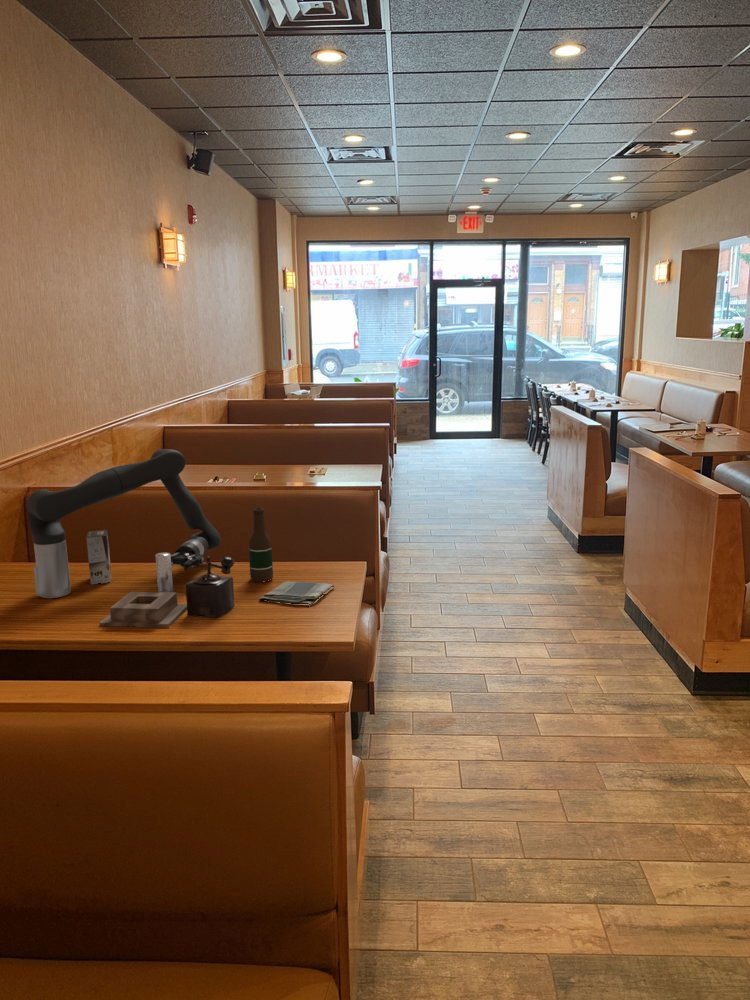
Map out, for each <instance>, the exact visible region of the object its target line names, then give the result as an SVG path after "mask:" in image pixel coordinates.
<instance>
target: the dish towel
mask: <svg viewBox="0 0 750 1000" xmlns="http://www.w3.org/2000/svg"><path fill="white" fill-rule="evenodd" d="M331 587H334V588H335V585H334V584H331V583H323V582H309V581H308V582H306V581H293V580H292V581H288V580H287V581H286V580H285V581H284V580H283V582H282V583H280V585H278V586H276V587H274V588H273V589H271V590H270V591H269V592H267V593H264V594H263V596H261V597H259V598H258V601H259V602H261V601H260V600H267V601H269V602H268V603H270V602H280V603H282V604H284V603H291V604H309V605H312V604H313V603H314V602H315V601H316V600H317V599H319V597H321V596H322V595H324V594H323V593H325V592H326V591H327V590H329V589H330V588H331ZM312 606H313V605H312Z"/></svg>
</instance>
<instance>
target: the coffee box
mask: <svg viewBox="0 0 750 1000" xmlns="http://www.w3.org/2000/svg"><path fill="white" fill-rule="evenodd" d="M85 538H86V547H87V549H86V550H87V558H88V567H89V569H88V570H89V579H90V580H89V581H90V585H99V584H98V583H101V584H109V583H108V582H110V583H111V580H112V566H111V558H110V557H111V555H110V545H109V535H108V529H101V530H93V531H90V530H89V531H88V532H87V534H86V537H85Z"/></svg>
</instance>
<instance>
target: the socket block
mask: <svg viewBox="0 0 750 1000" xmlns="http://www.w3.org/2000/svg"><path fill="white" fill-rule="evenodd" d="M186 611H187V603H185V604H184V603H183V604H182V603H181V604H180V603H179V604H178V593H177V592H174V591H173V592H158V591H156V592H155V591H130V592H128V593H127V594H126V595H125V596H123V597H122V598H121V599H120V600H118V601H117V602H116V603H115V604H113V605H112V606H110V607H109V612H110V613H109V614H108V615H107V616H106V617H104V618H103V619H102V620H101V621H99V627H123V626H124V627H127V626H129V628H130V627H131V628H133V627H132V626H136V627H135V628H165V627H169V626H170V625H171V624H172V623H173V624H175V622H176V621H177V620H178V619H179V618H180V617H181V616H182V615H183V614H184V613H185V612H186ZM173 624H172V625H173ZM172 625H171V626H172ZM171 626H170V627H171ZM124 627H123V628H124ZM170 627H169V628H170Z"/></svg>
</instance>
